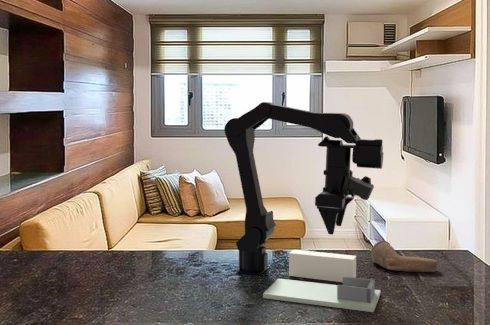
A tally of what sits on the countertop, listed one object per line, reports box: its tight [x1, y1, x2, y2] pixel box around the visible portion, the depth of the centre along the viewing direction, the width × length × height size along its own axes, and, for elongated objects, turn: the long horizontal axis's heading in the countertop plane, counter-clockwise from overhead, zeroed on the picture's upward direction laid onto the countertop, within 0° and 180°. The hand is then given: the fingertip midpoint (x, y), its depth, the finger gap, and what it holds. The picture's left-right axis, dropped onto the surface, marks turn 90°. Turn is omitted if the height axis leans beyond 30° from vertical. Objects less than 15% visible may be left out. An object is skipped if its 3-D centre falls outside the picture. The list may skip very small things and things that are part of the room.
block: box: [288, 249, 357, 283], centre depth 132 cm, size 16×4×6 cm, turn 67°
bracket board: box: [262, 276, 381, 313], centre depth 119 cm, size 24×11×4 cm, turn 69°
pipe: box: [370, 240, 439, 273], centre depth 139 cm, size 6×17×10 cm
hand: (335, 230), depth 129 cm, fingers open, 9 cm apart
